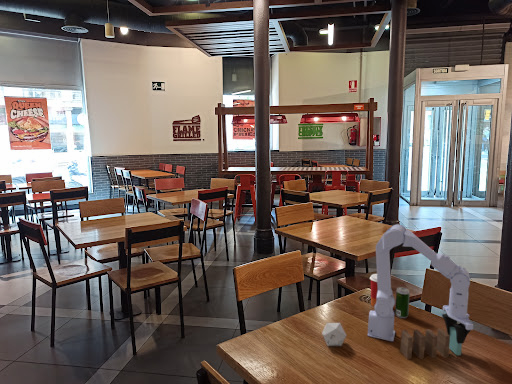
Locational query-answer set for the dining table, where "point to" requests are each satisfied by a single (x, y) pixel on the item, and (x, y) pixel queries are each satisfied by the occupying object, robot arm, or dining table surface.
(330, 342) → the die
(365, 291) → the dining table surface
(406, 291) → the beer can
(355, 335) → the dining table surface
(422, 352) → the domino
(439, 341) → the domino
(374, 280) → the paper cup
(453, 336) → the domino
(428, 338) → the domino
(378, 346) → the dining table surface
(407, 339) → the domino
